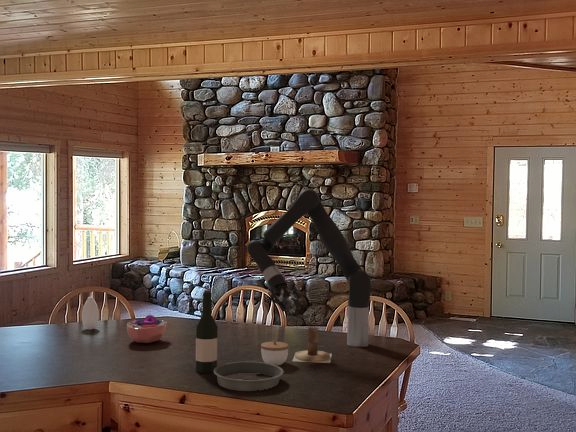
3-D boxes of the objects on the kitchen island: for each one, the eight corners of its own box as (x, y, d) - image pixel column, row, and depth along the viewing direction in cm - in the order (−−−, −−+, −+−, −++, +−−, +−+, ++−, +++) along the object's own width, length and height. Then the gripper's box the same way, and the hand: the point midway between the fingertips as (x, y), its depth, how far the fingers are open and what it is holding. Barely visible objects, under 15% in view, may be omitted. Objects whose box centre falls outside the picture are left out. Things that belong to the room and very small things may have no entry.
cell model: (116, 344, 286) (116, 318, 286) (143, 335, 305) (143, 311, 304) (149, 349, 280) (150, 322, 280) (175, 339, 298) (175, 314, 298)
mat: (331, 354, 276) (331, 353, 276) (330, 363, 261) (330, 362, 261) (295, 352, 278) (295, 352, 278) (292, 362, 263) (292, 361, 263)
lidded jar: (290, 362, 263) (291, 338, 263) (284, 369, 253) (285, 344, 252) (264, 360, 266) (265, 336, 265) (257, 366, 255) (257, 342, 255)
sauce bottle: (96, 331, 312) (96, 292, 311) (79, 330, 312) (79, 292, 311) (100, 327, 320) (101, 290, 319) (84, 327, 320) (84, 290, 319)
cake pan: (257, 397, 218) (257, 384, 218) (198, 384, 231) (199, 372, 231) (296, 380, 239) (296, 368, 239) (240, 369, 252) (240, 357, 252)
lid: (330, 353, 276) (331, 325, 275) (329, 362, 262) (329, 332, 261) (296, 352, 277) (297, 323, 277) (293, 360, 263) (294, 330, 263)
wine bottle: (213, 374, 244) (214, 292, 243) (191, 372, 246) (192, 291, 244) (220, 368, 252) (221, 289, 251) (199, 366, 254) (200, 288, 253)
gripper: (266, 274, 278) (284, 305, 271) (291, 272, 288) (309, 302, 280) (257, 285, 282) (275, 316, 275) (282, 283, 292) (299, 313, 285)
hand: (292, 309), depth 278 cm, fingers open, 8 cm apart
